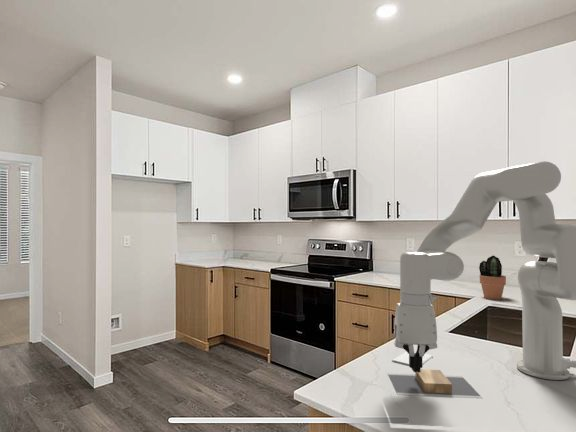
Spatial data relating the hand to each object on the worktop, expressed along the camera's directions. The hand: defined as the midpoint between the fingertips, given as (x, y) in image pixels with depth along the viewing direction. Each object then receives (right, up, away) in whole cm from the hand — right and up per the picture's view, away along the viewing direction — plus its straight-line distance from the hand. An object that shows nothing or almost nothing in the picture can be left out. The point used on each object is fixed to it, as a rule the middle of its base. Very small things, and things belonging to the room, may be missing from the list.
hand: (415, 370), depth 96 cm
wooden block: (+1, -3, 0) cm, 3 cm away
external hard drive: (+5, -5, +18) cm, 20 cm away
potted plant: (+86, -8, +120) cm, 148 cm away
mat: (+4, -4, 0) cm, 6 cm away
